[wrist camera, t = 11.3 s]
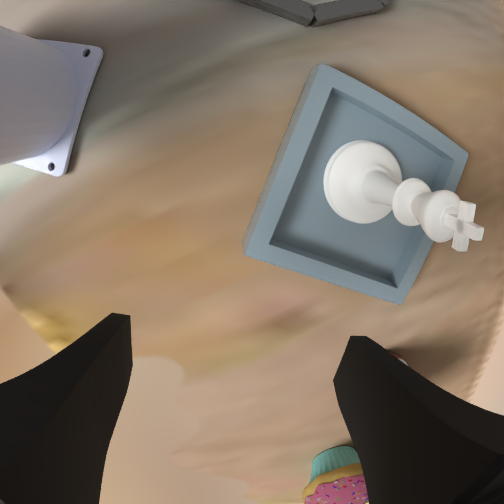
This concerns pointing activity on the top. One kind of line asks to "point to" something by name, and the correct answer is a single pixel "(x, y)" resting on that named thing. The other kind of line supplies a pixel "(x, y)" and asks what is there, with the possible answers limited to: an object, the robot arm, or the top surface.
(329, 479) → the cupcake
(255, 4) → the collar
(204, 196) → the top surface
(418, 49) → the top surface
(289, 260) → the tray
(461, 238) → the chess piece
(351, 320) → the top surface
